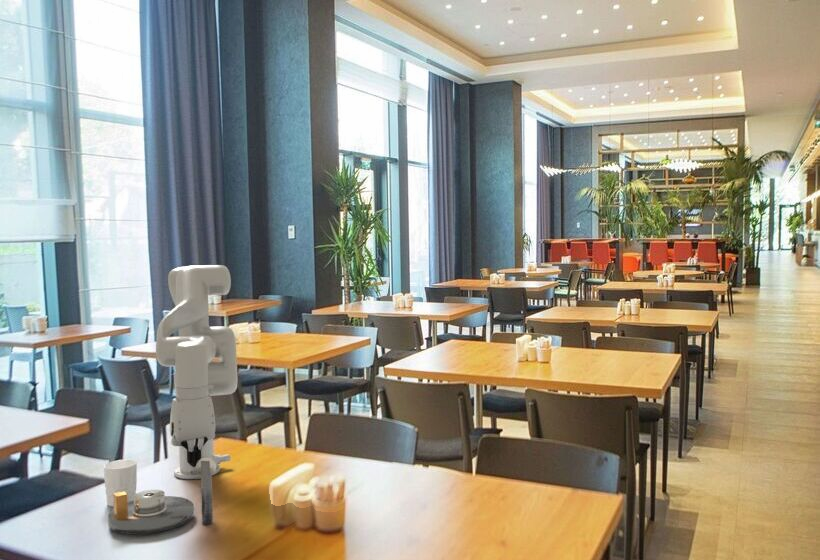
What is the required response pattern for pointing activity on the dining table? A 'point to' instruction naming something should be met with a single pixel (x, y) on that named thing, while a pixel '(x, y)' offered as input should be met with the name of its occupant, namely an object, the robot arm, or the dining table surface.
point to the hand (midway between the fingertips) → (194, 464)
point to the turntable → (130, 524)
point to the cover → (149, 503)
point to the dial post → (206, 487)
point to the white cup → (120, 479)
